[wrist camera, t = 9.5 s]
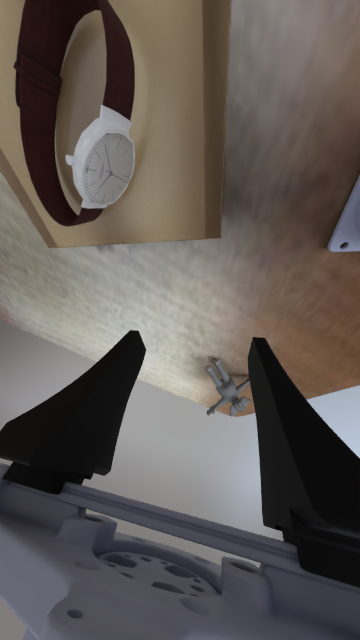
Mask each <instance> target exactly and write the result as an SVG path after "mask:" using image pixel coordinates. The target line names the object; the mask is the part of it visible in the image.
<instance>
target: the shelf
mask: <svg viewBox="0 0 360 640" xmlns="http://www.w3.org/2000/svg"><path fill="white" fill-rule="evenodd" d="M108 1H109V3H110V4H111V6H112V8H113V9H114V11H115V12H116V14H117V15H118V17H119V18H120V20H121V22H122V23H123V25H124V27H125V30H126V32H127V34H128V37H129V40H130V43H131V47H132V52H133V58H134V65H135V94H134V102H133V109H132V114H131V119H130V121H131V122H132V123H133V124H132V126H131V128H130V130H129V135H130V138H131V139H132V140H133V143H134V151H135V166H134V171H133V174H132V177H131V179H130V182H129V184H128V186H127V188H126V189H125V191H124V192H123V193H122V195H121V196H120V197H119V198H118V199H117V200H116V201H115V202H114V203H112V204H109V205H107V207H105V208H104V209H103V211H102V213H101V214H100V216H99V217H98V218H96V219H95V220H94V221H91V222H87V223H84V224H79V225H75V226H69V227H65V226H62V225H60V224H58V223H57V222H56V221H54V220H53V219H52V217H51V216H50V215H49V214H48V212H47V211H46V210H45V208H44V206H43V205H42V203H41V201H40V200H39V198H38V195H37V193H36V191H35V188H34V186H33V184H32V182H31V178H30V175H29V172H28V168H27V165H26V161H25V156H24V150H23V145H22V138H21V131H20V108H19V107H18V106H17V104H16V97H15V78H16V70H15V68H14V67H13V66H14V63H15V62H16V56H17V45H18V38H19V32H20V25H21V18H22V11H23V7H24V3H25V0H0V170H1V172H2V174H3V175H4V177H5V178H6V180H7V182H8V183H9V185H10V186H11V188H12V190H13V191H14V193H15V195H16V196H17V198H18V199H19V201H20V203H21V204H22V206H23V207H24V209H25V211H26V212H27V214H28V216H29V217H30V219H31V220H32V222H33V224H34V225H35V227H36V228H37V230H38V232H39V233H40V235H41V237H42V238H43V240H44V241H45V243H46V245H47V246H48V248H61V247H78V246H95V245H113V244H130V243H147V242H164V241H181V240H199V239H216V238H221V223H222V201H223V179H224V156H225V134H226V111H227V89H228V66H229V44H230V21H231V0H108ZM106 58H107V51H106V41H105V31H104V25H103V20H102V14H101V11H98V10H95V11H93V12H91V13H88V14H86V15H84V17H83V18H82V19H81V20H80V21H79V22H78V23H77V24H76V26H75V28H74V31H73V33H72V36H71V38H70V40H69V43H68V45H67V49H66V53H65V57H64V60H63V64H62V68H61V72H60V77H61V78H62V84H61V89H60V95H59V99H58V103H57V114H56V128H55V159H56V165H57V172H58V176H59V180H60V183H61V187H62V190H63V192H64V195H65V197H66V199H67V201H68V203H69V205H70V207H71V208H72V209H73V211H74V212H75V213H76V214H77V215H79V214H80V211H81V204H82V201H83V198H82V197H81V195H80V194H79V192H78V190H77V188H76V186H75V184H74V180H73V170H72V166H71V165H68V164H67V162H66V155H70V156H74V152H75V147H76V145H77V143H78V140H79V138H80V136H81V134H82V132H83V131H84V130H85V129H86V128H87V127H88V126H89V125H90V124H91V123H92V122H93V121H94V120H95V119H97V118H99V117H100V110H101V105H103V98H104V92H105V86H106Z"/></svg>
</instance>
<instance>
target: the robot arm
mask: <svg viewBox="0 0 360 640" xmlns="http://www.w3.org/2000/svg"><path fill="white" fill-rule="evenodd" d="M345 242H346V244H345V245H344V246H343V247H340V246H341V244H343V243H345ZM327 248H328V250H330V251H331V252H348V251H360V175H359V177H358V179H357V181H356V183H355V186H354V188H353V190H352V192H351V194H350V197H349V199H348V201H347V203H346V205H345V208H344V210H343V212H342V214H341V216H340V219H339V221H338V223H337V225H336V228H335V230H334V232H333V234H332V236H331V239H330V241H329V243H328V246H327ZM145 352H146V348H145V346H144V343H143V341H142V338H141V336H140V333H139V331H133V330H130V331H129V332H128V333H127V334H126V335H125V336H124V337H123V338H122V339H121V340H120V341H119V342H118V343H117V344H116V345H115V346H114V347H113V348H112V349H111V350H110V351H109V352H108V353H107V354H106V355H105V356H104V357H102V358H101V359H100V360H99V361H98V362H97V363H96V364H95V365H94V366H92V367H91V368H90V369H89V370H88V371H87V372H85V373H84V374H83V375H82V376H80V377H79V378H78V379H76V380H75V381H74V382H72V383H71V384H70V385H68V386H67V387H65V388H64V389H63V390H61V391H60V392H58V393H57V394H55V395H54V396H52V397H51V398H49V399H48V400H46V401H44V402H43V403H41V404H40V405H38V406H36V407H34V408H33V409H31V410H29V411H27V412H26V413H24V414H22V415H20V416H18V417H17V418H15V419H13V420H11V421H9V422H7V423H6V424H5V426H4V427H3V428H2V430H1V431H0V458H2V459H6V460H10V461H13V463H12V464H11V465H6V464H2V463H0V598H1V599H2V600H3V602H4V603H5V604H6V605H7V606H8V607H9V608H10V609H11V610H12V611H13V613H15V615H16V616H17V617H18V618H19V619H20V620H21V621H22V622H23V623H24V625H25V626H26V627H27V629H26V632H25V634H24V637H23V639H22V640H360V458H359V457H358V456H357V455H356V454H355V453H353V451H352V450H350V448H349V447H348V446H347V445H346V444H345V443H344V442H343V441H342V440H341V439H340V438H339V437H338V436H337V434H336V433H335V432H333V430H332V429H331V428H330V427H329V426H328V425H327V424H326V423H325V422H324V421H323V419H322V418H321V417H320V416H319V415H318V414H317V412H316V411H315V410H314V409H313V408H312V406H311V405H310V404H309V403H308V402H307V400H306V399H305V398H304V397H303V395H302V394H301V393H300V391H299V390H298V389H297V387H296V386H295V385H294V383H293V382H292V381H291V379H290V378H289V376H288V375H287V373H286V372H285V370H284V369H283V367H282V366H281V364H280V363H279V361H278V360H277V358H276V356H275V355H274V353H273V351H272V350H271V348H270V346H269V344H268V342H267V340H266V339H265V338H257V337H253V339H252V343H251V347H250V351H249V355H248V371H249V379H250V384H251V390H252V396H253V401H254V407H255V412H256V420H257V429H258V443H259V457H260V474H261V495H262V515H263V523H264V526H267V527H270V528H273V529H276V530H280V531H282V533H283V539H284V541H280V540H276V539H273V538H269V537H266V536H262V535H258V534H255V533H251V532H248V531H244V530H241V529H237V528H233V527H230V526H226V525H222V524H219V523H215V522H212V521H208V520H204V519H201V518H198V517H194V516H190V515H187V514H183V513H179V512H176V511H173V510H169V509H165V508H162V507H158V506H155V505H151V504H147V503H144V502H140V501H137V500H133V499H129V498H126V497H122V496H118V495H115V494H111V493H108V492H104V491H101V490H97V489H94V488H90V487H86V486H83V485H82V483H83V480H84V478H85V479H89V480H90V479H91V478H92V476H93V473H96V474H99V475H103V476H105V475H106V474H108V473H109V472H110V470H111V466H112V461H113V456H114V451H115V447H116V443H117V438H118V434H119V430H120V426H121V422H122V419H123V415H124V412H125V409H126V405H127V402H128V399H129V396H130V393H131V391H132V388H133V386H134V384H135V381H136V379H137V376H138V374H139V371H140V369H141V366H142V363H143V360H144V356H145ZM86 509H89V510H92V511H95V512H98V513H102V514H105V515H108V516H111V517H114V518H118V519H121V520H124V521H128V522H131V523H134V524H137V525H140V526H144V527H147V528H150V529H153V530H157V531H160V532H163V533H166V534H170V535H173V536H176V537H179V538H182V539H185V540H189V541H192V542H196V543H198V544H202V545H205V546H208V547H211V548H215V549H218V550H221V551H224V552H228V553H231V554H234V555H237V556H240V557H244V558H247V559H250V560H253V561H256V562H260V563H261V565H260V567H259V568H258V567H256V566H255V565H253V564H252V563H249V562H247V561H243V560H239V559H234V558H229V557H222V566H221V565H218V564H216V563H213V562H210V561H208V560H206V559H203V558H201V557H198V556H196V555H193V554H191V553H188V552H185V551H183V550H180V549H177V548H174V547H171V546H168V545H164V544H161V543H157V542H153V541H150V540H146V539H142V538H138V537H134V536H130V535H126V534H122V533H118V532H115V530H116V527H117V522H115V521H114V520H112V519H110V518H108V517H105V516H101V515H92V514H86Z"/></svg>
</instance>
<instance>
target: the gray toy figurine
mask: <svg viewBox="0 0 360 640" xmlns="http://www.w3.org/2000/svg"><path fill="white" fill-rule="evenodd" d="M213 363H214V364H215V366H216V367H217V369H218V371H219V373H220V374H221V376H222V378H223V379H220V378H219V377H218V376H217V374H216V373H215V371H214V370H213V368H212V366H211V365H208V366H206V368H205V369H206V370H207V372H208V373H209V375H210V376H211V377H212V379H213V381H214V383H215V385H216V389H217V391H218V393H219V394H220V395H222V398H221V399H220V400H219V401H218V402H217V403H216V404H215V405H214V406H212V407H211V408H210V409H209V410H208V411H207V415H210V414H211V413H214V411H215V409H216V408H217V407H219V406H222V405H224V404H226V403H228V402H231V403H232V405H231V407H230V408H229V409H230V416H234V415H235V414H236V413H237V412H238V411H239V412H242V411H244V410H245V406H247V404H249V402H250V399H247V398H246V397H242V398H240V400H239V398H238V395H239V394H240V392H241V391H242V390H243V389H244V388H245V387H246V385H247V384H249V383H250V379H249V378H248V379H247V380H246V381H245V382H244V383H242V384H240V385H239V386H238V387H236V385H235V383H234V381H233V380H232V379H231V378H230V377H229V376H228V374H227V373H226V371H225V369H224V368H223V366H222V364H221V362H220V360H219V359H215V360H214V361H213Z"/></svg>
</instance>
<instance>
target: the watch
mask: <svg viewBox="0 0 360 640" xmlns="http://www.w3.org/2000/svg"><path fill="white" fill-rule="evenodd" d="M95 10H98V11H101V14H102V20H103V25H104V31H105V41H106V51H107V58H106V86H105V92H104V98H103V105H101V110H100V117H99V118H97V119H95V120H94V121H93V122H92V123H91V124H90V125H89V126H88V127H87V128H86V129H85V130H84V131H83V132H82V134H81V136H80V138H79V140H78V143H77V145H76V147H75V152H74V156H70V155H66V162H67V164H68V165H71V166H72V170H73V180H74V184H75V186H76V188H77V190H78V192H79V194H80V195H81V197H82V198H83V201H82V204H81V211H80V214H79V215H77V214H76V213H75V212H74V211H73V209H72V208H71V207H70V205H69V203H68V201H67V199H66V197H65V195H64V192H63V190H62V187H61V183H60V180H59V176H58V172H57V165H56V159H55V128H56V114H57V103H58V99H59V95H60V89H61V84H62V78H61V77H60V72H61V68H62V64H63V60H64V57H65V53H66V49H67V45H68V43H69V40H70V38H71V36H72V33H73V31H74V28H75V26H76V24H77V23H78V22H79V21H80V20H81V19H82V18H83V17H84V15H86V14H88V13H91V12H93V11H95ZM13 67H14V68H15V70H16V78H15V97H16V104H17V106H18V107H19V108H20V131H21V138H22V145H23V150H24V156H25V161H26V165H27V168H28V172H29V175H30V178H31V182H32V184H33V186H34V188H35V191H36V193H37V195H38V198H39V200H40V201H41V203H42V205H43V206H44V208H45V210H46V211H47V212H48V214H49V215H50V216H51V217H52V219H53V220H54V221H56V222H57V223H58V224H60V225H62V226H65V227H69V226H75V225H79V224H84V223H87V222H91V221H94V220H95V219H96V218H98V217H99V216H100V214H101V213H102V211H103V209H104V208H105V207H107V205H109V204H112V203H114V202H115V201H116V200H117V199H118V198H119V197H120V196H121V195H122V193H123V192H124V191H125V189H126V188H127V186H128V184H129V182H130V179H131V177H132V174H133V171H134V166H135V151H134V143H133V140H132V139H131V138H130V135H129V130H130V128H131V126H132V124H133V123H132V122H131V121H130V119H131V114H132V109H133V102H134V94H135V65H134V58H133V52H132V47H131V43H130V40H129V37H128V34H127V32H126V30H125V27H124V25H123V23H122V22H121V20H120V18H119V17H118V15H117V14H116V12H115V11H114V9H113V8H112V6H111V4H110V3H109V1H108V0H25V3H24V7H23V11H22V18H21V25H20V32H19V38H18V45H17V56H16V62H15V63H14V66H13Z"/></svg>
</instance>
